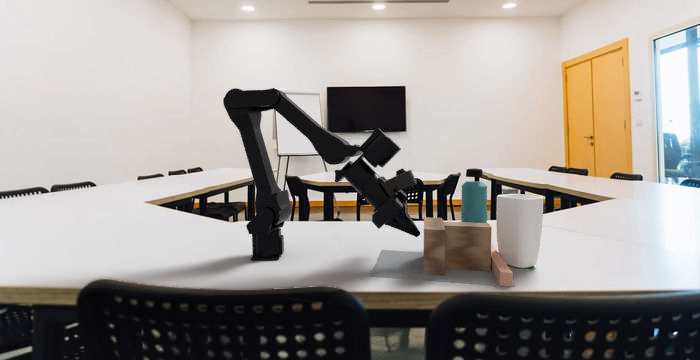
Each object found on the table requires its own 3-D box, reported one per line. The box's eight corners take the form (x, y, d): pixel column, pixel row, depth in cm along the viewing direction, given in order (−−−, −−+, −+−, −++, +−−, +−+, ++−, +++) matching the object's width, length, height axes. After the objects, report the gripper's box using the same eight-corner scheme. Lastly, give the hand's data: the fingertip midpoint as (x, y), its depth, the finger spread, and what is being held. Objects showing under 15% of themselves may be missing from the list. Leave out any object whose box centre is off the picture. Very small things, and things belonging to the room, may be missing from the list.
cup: (522, 273, 67) (524, 199, 66) (491, 263, 73) (493, 195, 72) (544, 267, 70) (547, 196, 69) (513, 258, 77) (515, 193, 75)
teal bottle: (489, 249, 84) (491, 169, 82) (461, 247, 85) (462, 169, 83) (484, 242, 90) (486, 167, 88) (458, 241, 91) (459, 167, 90)
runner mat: (369, 278, 65) (369, 263, 65) (381, 251, 82) (381, 239, 82) (515, 288, 59) (515, 272, 59) (494, 257, 77) (495, 245, 77)
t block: (423, 274, 66) (423, 229, 65) (423, 255, 77) (424, 217, 77) (494, 279, 63) (495, 231, 62) (483, 259, 74) (484, 219, 74)
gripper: (389, 157, 62) (450, 218, 60) (397, 156, 80) (444, 203, 79) (348, 198, 64) (405, 258, 63) (365, 188, 82) (410, 234, 81)
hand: (418, 235), depth 71 cm, fingers closed
